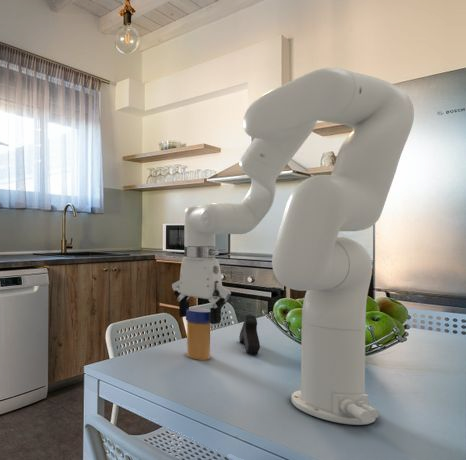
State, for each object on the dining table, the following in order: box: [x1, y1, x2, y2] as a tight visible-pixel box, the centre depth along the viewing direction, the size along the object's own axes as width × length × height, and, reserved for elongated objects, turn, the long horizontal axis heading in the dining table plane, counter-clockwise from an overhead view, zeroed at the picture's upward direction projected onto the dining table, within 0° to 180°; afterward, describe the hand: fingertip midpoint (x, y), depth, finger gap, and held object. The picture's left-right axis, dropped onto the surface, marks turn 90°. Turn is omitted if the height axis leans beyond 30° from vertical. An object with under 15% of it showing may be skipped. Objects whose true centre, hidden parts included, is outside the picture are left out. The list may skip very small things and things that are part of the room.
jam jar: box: [186, 320, 211, 361], centre depth 104 cm, size 6×6×12 cm
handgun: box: [238, 313, 261, 355], centre depth 111 cm, size 3×14×10 cm
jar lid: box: [185, 307, 211, 324], centre depth 104 cm, size 6×6×3 cm
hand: (199, 319), depth 104 cm, fingers open, 9 cm apart
